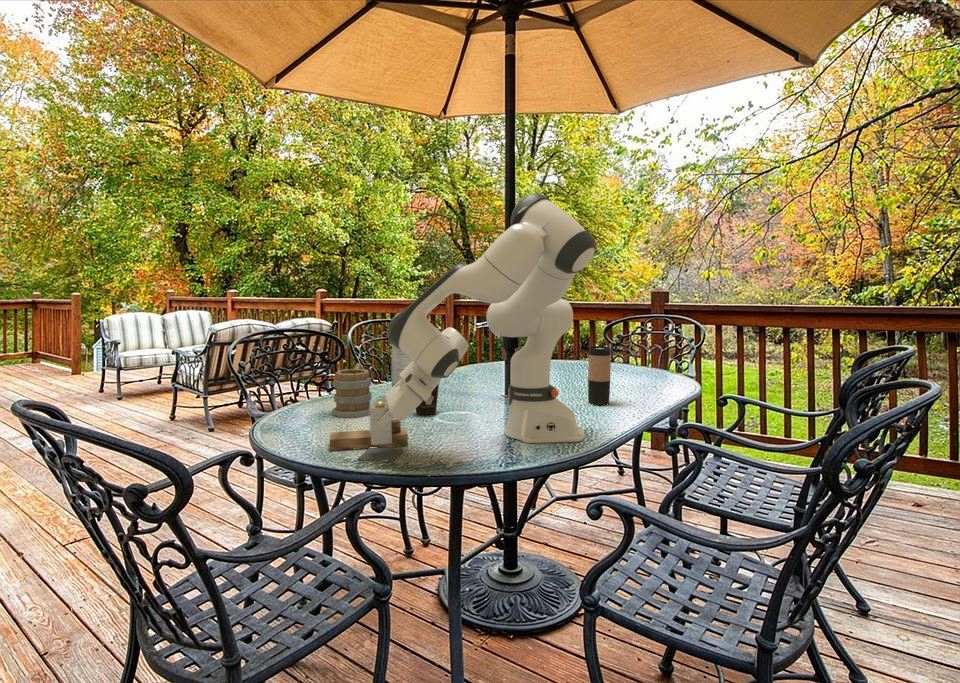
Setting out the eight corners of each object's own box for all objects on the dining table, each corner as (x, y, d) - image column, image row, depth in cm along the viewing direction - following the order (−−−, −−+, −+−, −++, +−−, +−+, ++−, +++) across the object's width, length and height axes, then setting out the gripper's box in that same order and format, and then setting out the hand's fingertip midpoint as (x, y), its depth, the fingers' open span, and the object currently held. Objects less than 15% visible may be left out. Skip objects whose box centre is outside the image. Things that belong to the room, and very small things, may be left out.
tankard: (368, 417, 178) (367, 371, 177) (328, 417, 179) (327, 371, 177) (380, 403, 198) (379, 362, 196) (345, 403, 198) (343, 362, 197)
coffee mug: (441, 410, 187) (441, 381, 186) (436, 417, 179) (436, 386, 178) (407, 410, 188) (406, 381, 187) (401, 416, 180) (400, 385, 179)
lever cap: (390, 437, 143) (389, 399, 142) (391, 443, 138) (390, 403, 137) (370, 439, 142) (369, 400, 141) (371, 444, 137) (370, 404, 136)
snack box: (418, 408, 191) (417, 333, 188) (392, 409, 189) (390, 334, 186) (415, 395, 212) (413, 328, 209) (391, 396, 211) (390, 328, 208)
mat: (403, 450, 145) (403, 448, 145) (393, 461, 136) (393, 460, 136) (369, 449, 146) (369, 447, 146) (357, 460, 137) (357, 458, 137)
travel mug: (587, 401, 202) (588, 346, 199) (608, 401, 201) (610, 346, 198) (588, 405, 194) (589, 348, 192) (610, 406, 193) (612, 349, 191)
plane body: (405, 438, 155) (404, 417, 155) (407, 445, 149) (407, 423, 148) (330, 443, 151) (330, 421, 150) (330, 451, 144) (329, 428, 143)
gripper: (403, 367, 150) (367, 405, 149) (412, 380, 130) (370, 424, 129) (420, 382, 151) (384, 420, 150) (431, 398, 132) (390, 441, 130)
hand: (378, 422), depth 139 cm, fingers closed on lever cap, 5 cm apart
